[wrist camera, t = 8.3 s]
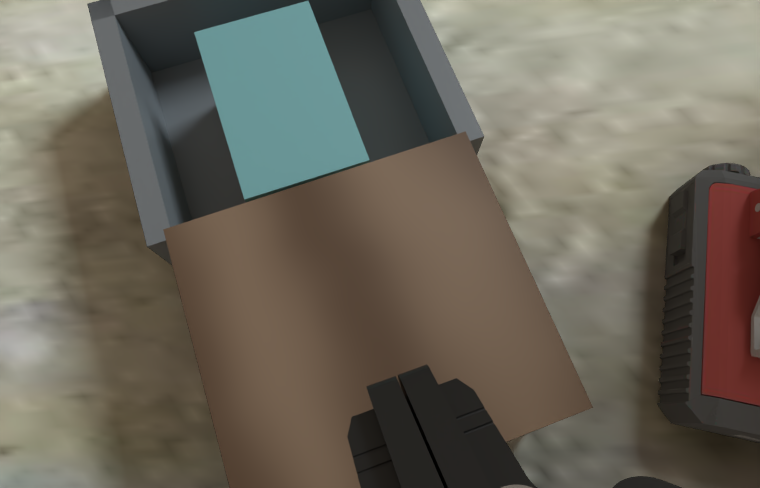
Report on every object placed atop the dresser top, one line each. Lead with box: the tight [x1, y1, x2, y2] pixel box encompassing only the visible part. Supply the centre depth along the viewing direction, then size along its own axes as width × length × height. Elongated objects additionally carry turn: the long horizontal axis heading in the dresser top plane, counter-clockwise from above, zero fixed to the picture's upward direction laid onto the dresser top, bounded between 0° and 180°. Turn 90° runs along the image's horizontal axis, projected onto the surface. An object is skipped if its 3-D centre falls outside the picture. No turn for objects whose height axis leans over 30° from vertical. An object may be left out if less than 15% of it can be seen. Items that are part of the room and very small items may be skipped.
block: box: [194, 1, 370, 202], centre depth 24 cm, size 5×5×8 cm
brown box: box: [163, 131, 593, 488], centre depth 22 cm, size 12×11×6 cm
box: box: [88, 0, 484, 265], centre depth 26 cm, size 14×12×5 cm
